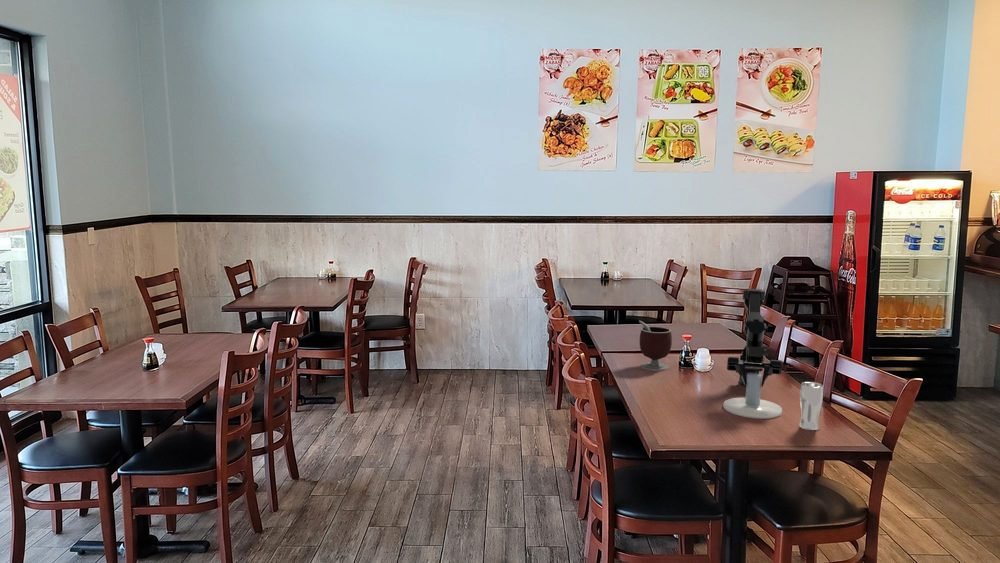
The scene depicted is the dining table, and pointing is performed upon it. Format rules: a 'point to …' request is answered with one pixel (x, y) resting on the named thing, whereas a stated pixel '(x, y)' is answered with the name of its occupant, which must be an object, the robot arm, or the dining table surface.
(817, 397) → the beer glass
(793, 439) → the dining table surface
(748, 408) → the plate
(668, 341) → the mate gourd
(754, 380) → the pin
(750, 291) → the robot arm
